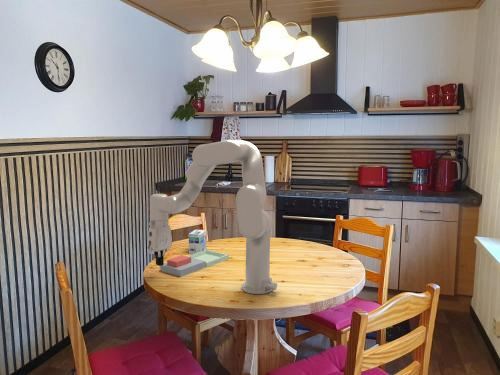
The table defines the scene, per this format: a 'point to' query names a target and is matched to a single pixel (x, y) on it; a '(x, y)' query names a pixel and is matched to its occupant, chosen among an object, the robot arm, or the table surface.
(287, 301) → the table surface
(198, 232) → the light bulb box
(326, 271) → the table surface
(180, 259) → the salmon red thick block
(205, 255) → the tray
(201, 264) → the grey flat slab
